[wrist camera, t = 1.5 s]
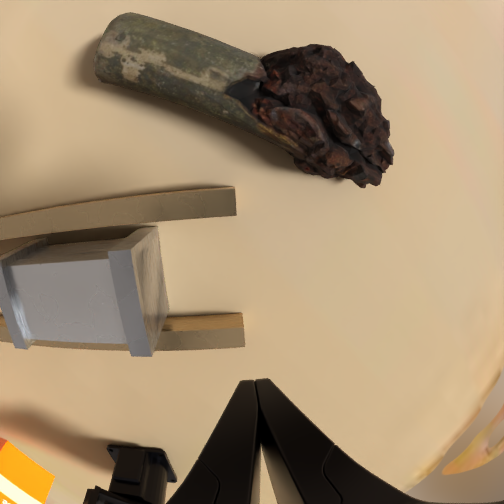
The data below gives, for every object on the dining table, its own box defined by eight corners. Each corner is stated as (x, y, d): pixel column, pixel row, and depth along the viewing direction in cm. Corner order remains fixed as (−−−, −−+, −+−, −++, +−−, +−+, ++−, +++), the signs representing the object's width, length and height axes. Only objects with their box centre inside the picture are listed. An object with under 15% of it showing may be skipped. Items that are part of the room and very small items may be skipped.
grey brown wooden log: (109, 88, 16) (71, 63, 11) (158, 9, 15) (139, -34, 9) (347, 199, 19) (389, 210, 14) (386, 117, 18) (434, 104, 12)
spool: (169, 308, 20) (152, 356, 14) (52, 310, 19) (15, 347, 14) (157, 225, 18) (130, 249, 13) (35, 238, 18) (-12, 261, 12)
